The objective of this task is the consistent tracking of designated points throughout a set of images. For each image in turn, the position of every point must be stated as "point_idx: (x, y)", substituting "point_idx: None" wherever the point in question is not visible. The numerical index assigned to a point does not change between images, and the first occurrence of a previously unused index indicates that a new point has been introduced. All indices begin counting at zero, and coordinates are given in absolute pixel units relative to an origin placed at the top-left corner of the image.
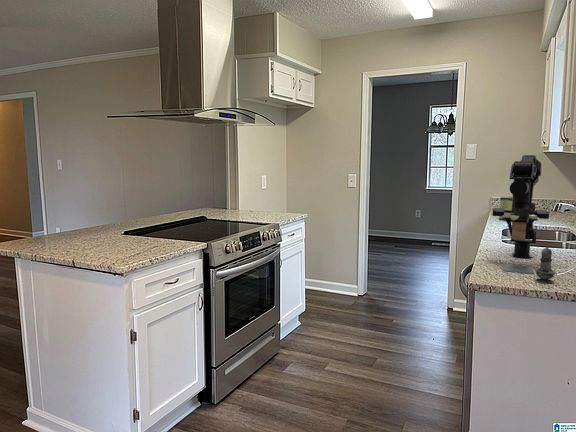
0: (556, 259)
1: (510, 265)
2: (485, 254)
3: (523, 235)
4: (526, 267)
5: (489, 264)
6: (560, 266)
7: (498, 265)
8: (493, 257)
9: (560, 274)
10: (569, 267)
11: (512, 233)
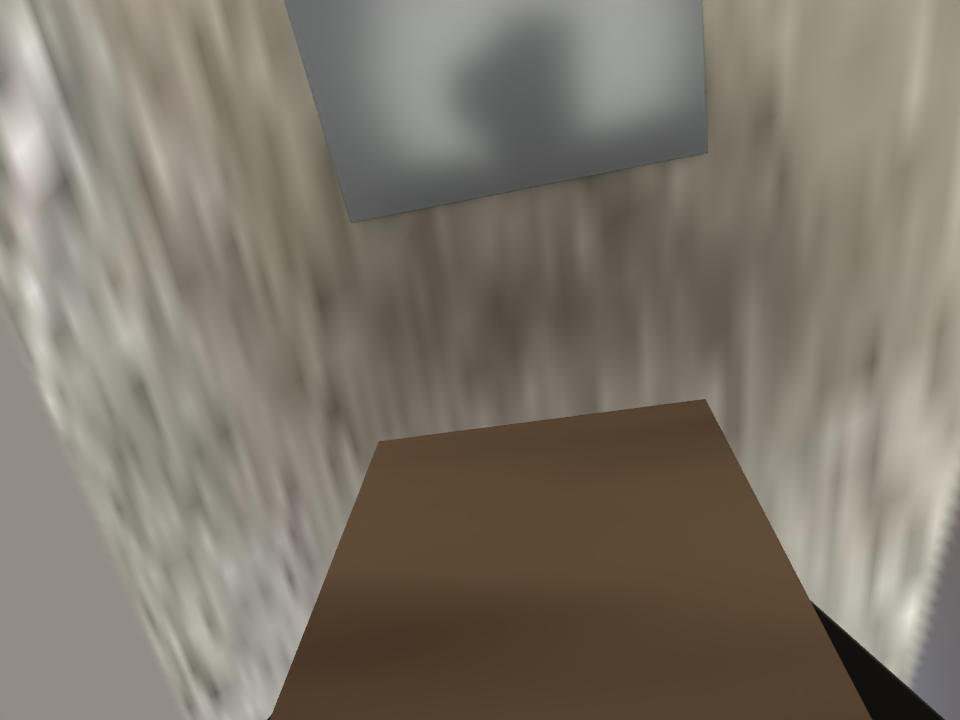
0: (274, 694)
1: (597, 148)
2: (873, 623)
3: (398, 513)
4: (400, 154)
5: (878, 109)
6: (162, 471)
7: (751, 122)
8: (796, 535)
9: (6, 62)
10: (91, 472)
11: (745, 504)
